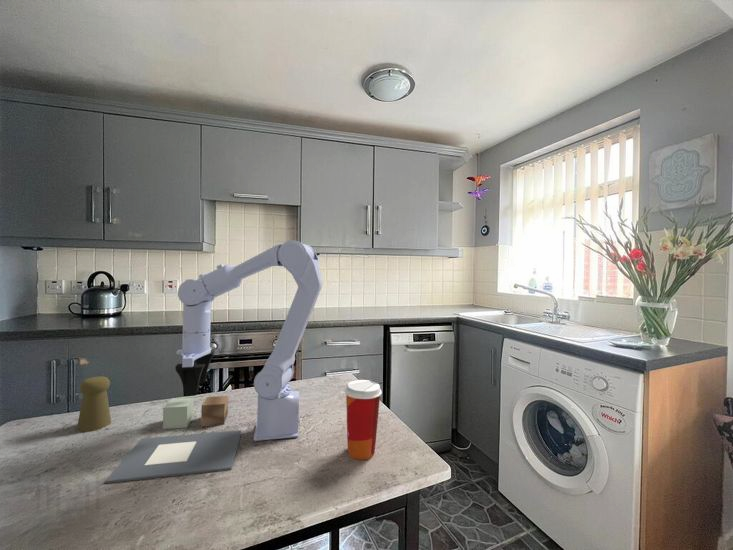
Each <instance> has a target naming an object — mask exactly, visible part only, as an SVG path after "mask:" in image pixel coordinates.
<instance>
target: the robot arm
mask: <svg viewBox="0 0 733 550" xmlns="http://www.w3.org/2000/svg"><path fill="white" fill-rule="evenodd" d="M272 267H283V268H284V269H286V271H288V272H289V273H290V274H291V276H292V278H293V279H294V281H295V282H296V285H297V290H296V292H295V295H294V296H293V297H294V298H293V299H292V303H291V305H290V306H289V307H290V308H289V310H288V313H287V315H286V318H285V321H284V322H283V325H282V327H281V331H280V333H279V335H278V338H277V341H276V343H275V344H274V345H275V346H274V348H273V351H272V352H271V354H270V355H269V357H267V358H268V359H267V360H266V362H265V364H264V366H263V368H262V369H261V371H259V372H258V373H257V374H256V375H255V377H254V380H253V388H254V391H255V392H256V393H257V412H256V413H257V414H256V415H257V416H256V417H257V418H256V424H255V427H254V428H255V429H254V433H253V438H252V439H253V440H252V441H254V442H257V441H268V440H270V441H271V440H279V439H280V440H282V439H289V438H290V439H291V438H298V437H299V424H300V421H301V419H300V413H299V412H300V391H298V390H297V391H296V390H291V385H290V381H291V380H292V379H293V376H294V364H295V360H296V353H297V351H298V348H299V346H300V343H301V341H302V338H303V336H304V333H305V330H306V328H307V325H308V323H309V320H310V318H311V315H312V313H313V310H314V308H315V306H316V302H317V301H318V298H319V295H320V293H321V290H322V287H323V280H322V274H321V268H320V258H319V256H318V254H317V253H316V251H315V250H314V248H313V247H312V246H311V245H309V244H307V243H302V242H301V241H298V240H294V239H293V240H292V239H291V240H286V241H285V242H284V243H283V244H281V243H280V244H275V245H273V246H272V247H269V248H268V249H266V250H264V251H262V252H260V253H259V254H257V255H255V256H253V257H250V258H249V259H247V260H245V261H243V262H241V263H239V264H238V265H236V266H234V265H231V264H223V263H222V264H218V265H216V269H214V270H212V271H209V272H208V273H201V274H199V275H198V278H197V279H194V278H192V279H191V278H189V279H185V280H184V281H183V282H182V283H181V284H180V285H179V286H178V289H177V297H178V299H179V301H180V302H181V303H182V305H183V306H182V343H181V345H182V348H181V349H178V350H176V355H181V357H182V359H181V362H182V363H177V364H176V365H175V368H174V369H175V371H176V373H177V374H178V376H179V377H180V380H181V384H182V387H183V392H184V394H185V397H193V396H194V397H195V396H196V395H197V394H198V390H199V385H201V384H205V382H206V379H207V374H208V371H209V370H208V369H209V366H210V364H211V361H212V359H213V357H214V355H215V352H214V351H212V348H211V324H212V323H211V319H212V317H211V316H212V313H211V312H212V303H213V301H214V299H216V298H217V297H219V296H222V295H224V294H226V293H228V292H230V291H233V290H234V289H235V290H236V289H237V288H239V287H240V286H241V284H242V280H243V279H245V278H248V277H250V276H252V275H255V274H257V273H260V272H262V271H265V270H267V269H269V268H272Z"/></svg>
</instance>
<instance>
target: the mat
mask: <svg viewBox="0 0 733 550" xmlns="http://www.w3.org/2000/svg"><path fill="white" fill-rule="evenodd" d="M242 431H243V430H241V429H238V430H228V431H226V430H225V431H217V432H216V431H214V432H204V433H193V434H192V433H191V434H190V433H189V434H179V435H169V436H166V435H165V436H156V437H155V436H154V437H144V438H140V440H139V441H138V442H137V443H136V444H135V445H134V447H132V449H131V450H130V451H129V453H127V455H126V456H125V457H124V458H123V460H121V462H120V463H119V464H118V466H117V467H116V468H115V469H114V470H113V471H112V473H111V474H110V475H109V476H108V477H107V479H106V480H105V481H104V483H105V484H114V483H121V482H130V481H131V482H132V481H139V480H140V481H141V480H147V479H150V480H151V479H159V478H167V477H174V476H175V477H176V476H185V475H193V474H194V475H195V474H202V473H203V474H204V473H212V472H220V471H231V470H233V469H232V468H233V464H234V460H235V456H236V454H237V450H238V446H239V442H240V439H241V435H242Z"/></svg>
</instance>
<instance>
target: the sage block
mask: <svg viewBox="0 0 733 550" xmlns="http://www.w3.org/2000/svg"><path fill="white" fill-rule="evenodd" d="M194 401H195V400H194V397H185V398H181V397H180V398H171V399H169V400H168V402H166V404H165V405H164V406H163V408H162V412H163V413H162V430H167V429H181V428H187V427H189V425H190V423H191V422H190V421H192V420H193V418H194Z"/></svg>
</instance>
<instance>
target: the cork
mask: <svg viewBox="0 0 733 550" xmlns="http://www.w3.org/2000/svg"><path fill="white" fill-rule="evenodd" d="M110 385H111V381H110V379H109V378H108V377H106V376H101V375H100V376H94V377H93V376H92V377H89V378H88V377H87V378H86V379H85V380H83V381H82V382H81V384H80V387H79V391H80V393H81V394H82V399H81V405H80V410H79V414H78V415H79V416H78V419H77V420H78V421H77V426H76V431H77V430H78V431H77V432H80V433H88V432H89V433H90V432H95V431H99V430H102V429H104V428H106V427H107V425H108V426H110V424H111V423H112V418H111V411H110V404H109V398H108V392H107V390H109V388H110ZM103 427H104V428H103ZM101 428H102V429H101ZM98 429H99V430H98Z"/></svg>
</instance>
